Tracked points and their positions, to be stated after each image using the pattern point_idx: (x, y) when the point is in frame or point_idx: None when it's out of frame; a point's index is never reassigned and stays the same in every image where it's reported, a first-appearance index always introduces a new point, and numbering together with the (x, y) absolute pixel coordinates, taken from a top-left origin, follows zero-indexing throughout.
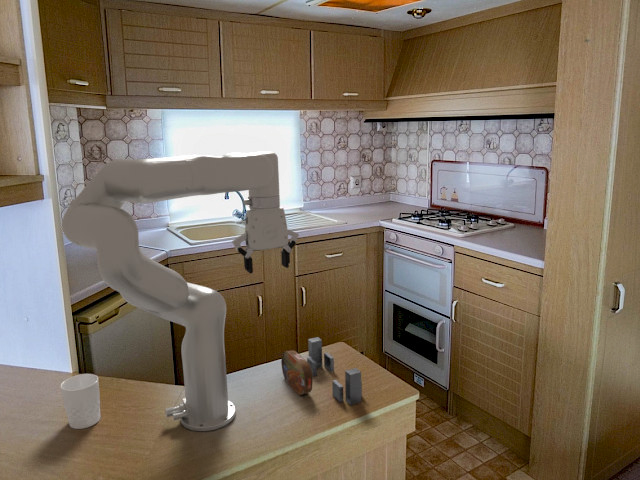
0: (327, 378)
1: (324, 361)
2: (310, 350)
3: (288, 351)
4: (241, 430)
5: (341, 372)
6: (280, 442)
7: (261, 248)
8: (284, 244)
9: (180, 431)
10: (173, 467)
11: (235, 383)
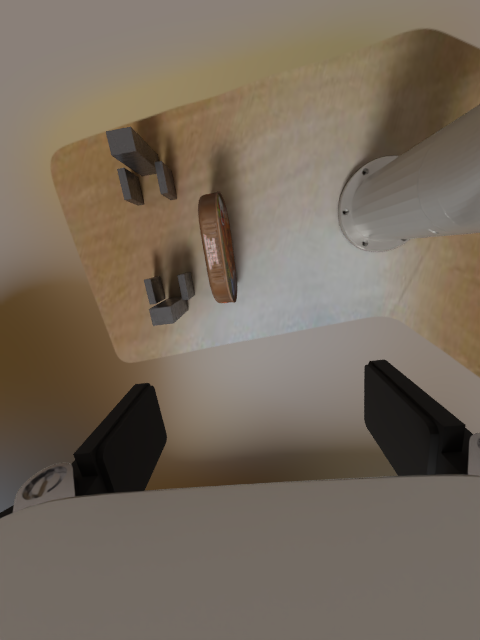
0: (170, 257)
1: (161, 299)
2: (177, 309)
3: (224, 283)
4: (344, 143)
5: (143, 268)
6: (296, 79)
7: (409, 485)
8: (15, 523)
9: None
10: (472, 69)
11: (314, 296)
